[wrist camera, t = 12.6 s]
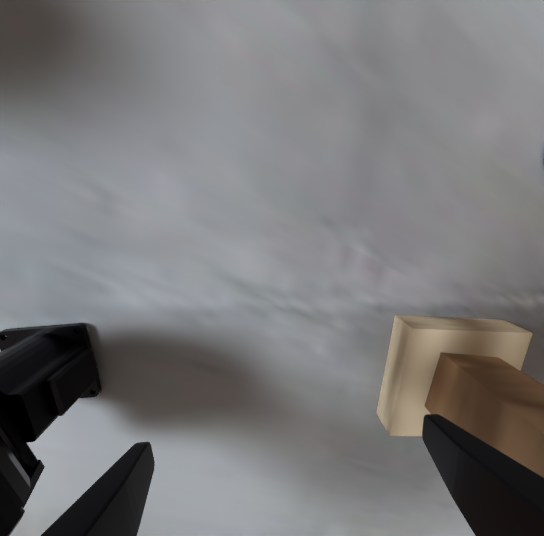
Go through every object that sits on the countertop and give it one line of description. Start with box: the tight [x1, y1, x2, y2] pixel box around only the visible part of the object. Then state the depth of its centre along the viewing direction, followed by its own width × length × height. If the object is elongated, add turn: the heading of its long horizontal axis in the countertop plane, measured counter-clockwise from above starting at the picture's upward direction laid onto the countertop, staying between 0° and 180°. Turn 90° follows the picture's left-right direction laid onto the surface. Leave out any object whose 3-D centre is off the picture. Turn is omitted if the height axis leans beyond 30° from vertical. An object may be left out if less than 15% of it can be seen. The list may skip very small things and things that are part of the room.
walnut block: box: [425, 352, 544, 478], centre depth 15 cm, size 5×5×12 cm
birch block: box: [377, 315, 533, 436], centre depth 23 cm, size 10×10×3 cm
